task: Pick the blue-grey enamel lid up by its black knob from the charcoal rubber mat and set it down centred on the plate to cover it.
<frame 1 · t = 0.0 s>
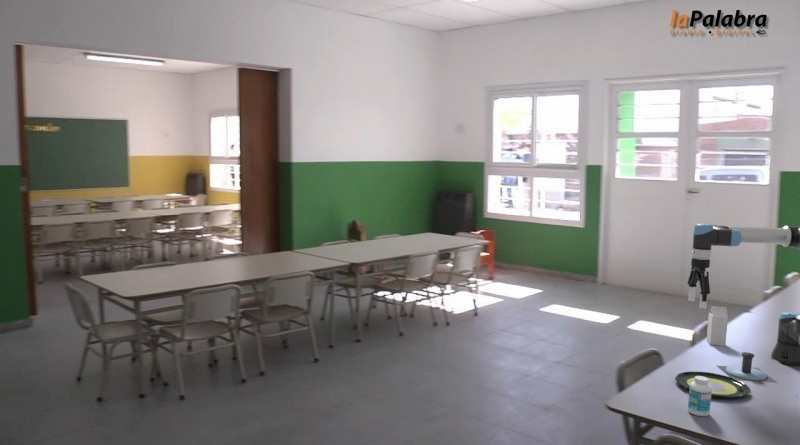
hand: (696, 304, 289), 28 cm above the table, fingers open, 13 cm apart
pill bottle: (698, 413, 238), on the table
plate: (711, 389, 264), on the table
mat: (745, 375, 280), on the table
milk carton: (715, 343, 325), on the table
lid: (746, 373, 280), point 1 cm above the table, touching mat
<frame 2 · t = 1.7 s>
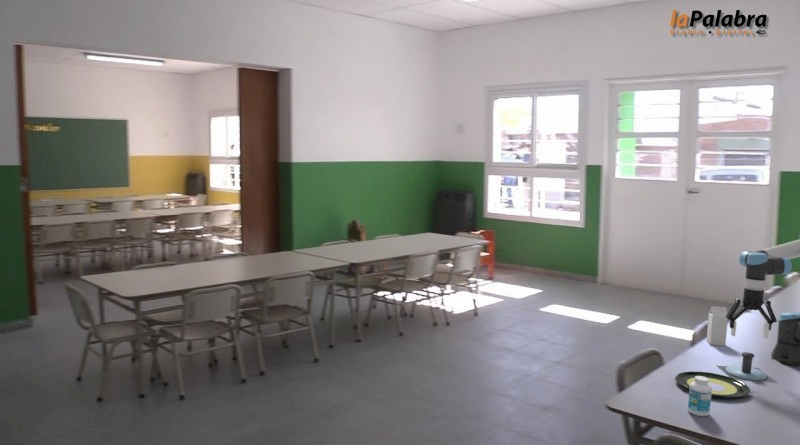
hand: (749, 336, 278), 17 cm above the table, fingers open, 13 cm apart
nothing on the table moved.
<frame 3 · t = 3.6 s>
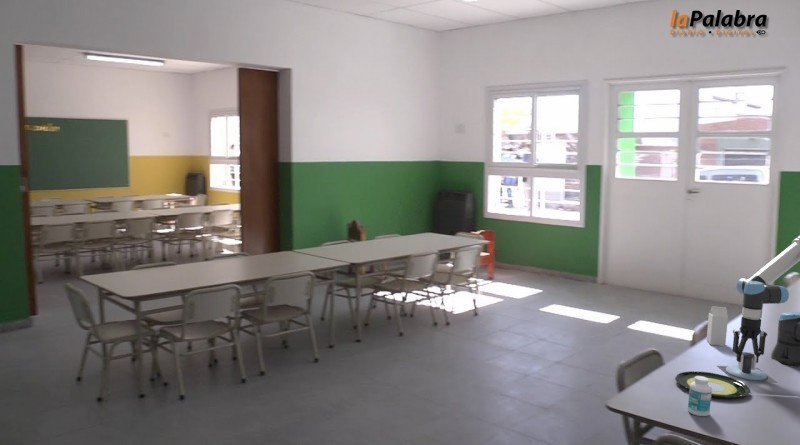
hand: (746, 369, 280), 3 cm above the table, fingers closed on lid, 5 cm apart
lid: (746, 373, 280), point 1 cm above the table, touching gripper, mat
everything else where it was.
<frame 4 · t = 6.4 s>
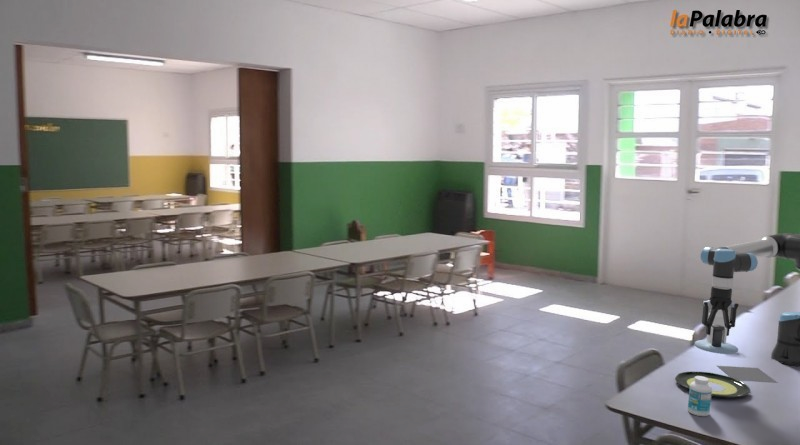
hand: (716, 342, 262), 19 cm above the table, fingers closed on lid, 5 cm apart
lid: (716, 347, 262), point 17 cm above the table, touching gripper
everything else where it was.
when the fingers open (6 cm above the table, at t = 9.1 s): lid drops 2 cm, resting on plate.
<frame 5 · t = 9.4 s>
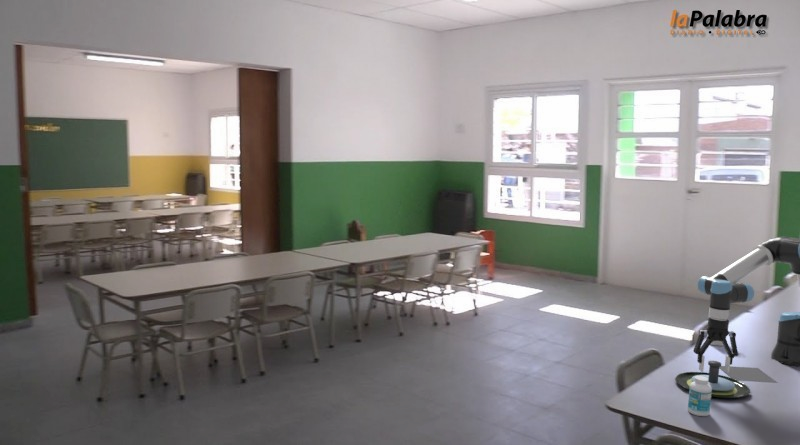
hand: (713, 371, 263), 7 cm above the table, fingers open, 9 cm apart
plate: (711, 389, 264), on the table, touching lid
lid: (712, 383, 264), point 2 cm above the table, touching plate
everything else where it was.
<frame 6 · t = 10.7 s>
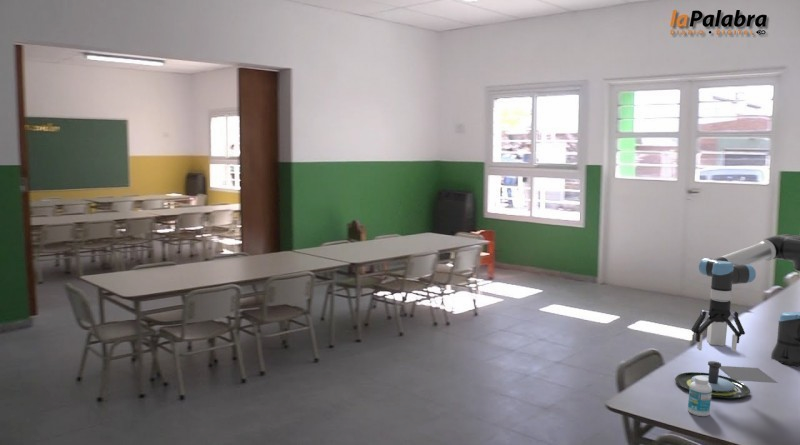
hand: (716, 350, 262), 16 cm above the table, fingers open, 13 cm apart
nothing on the table moved.
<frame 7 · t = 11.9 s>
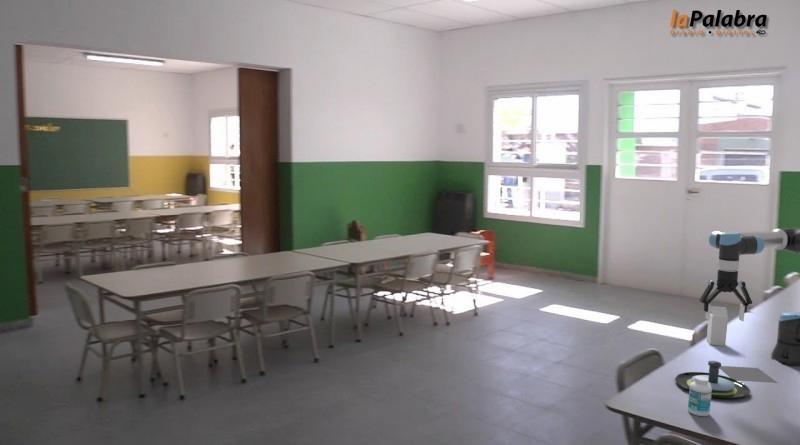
hand: (724, 319, 267), 27 cm above the table, fingers open, 13 cm apart
nothing on the table moved.
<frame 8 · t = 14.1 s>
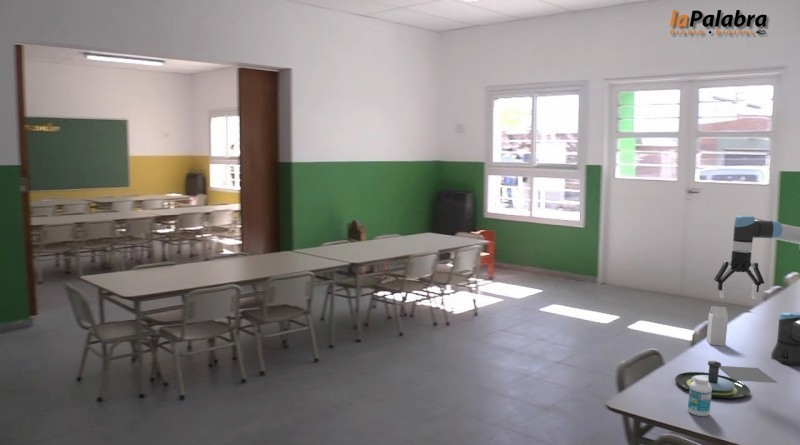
hand: (737, 298, 282), 33 cm above the table, fingers open, 13 cm apart
nothing on the table moved.
at the end: lid 0.4 cm from the plate (horizontally); lid point 1.8 cm above the table; lid tilted 0° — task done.
